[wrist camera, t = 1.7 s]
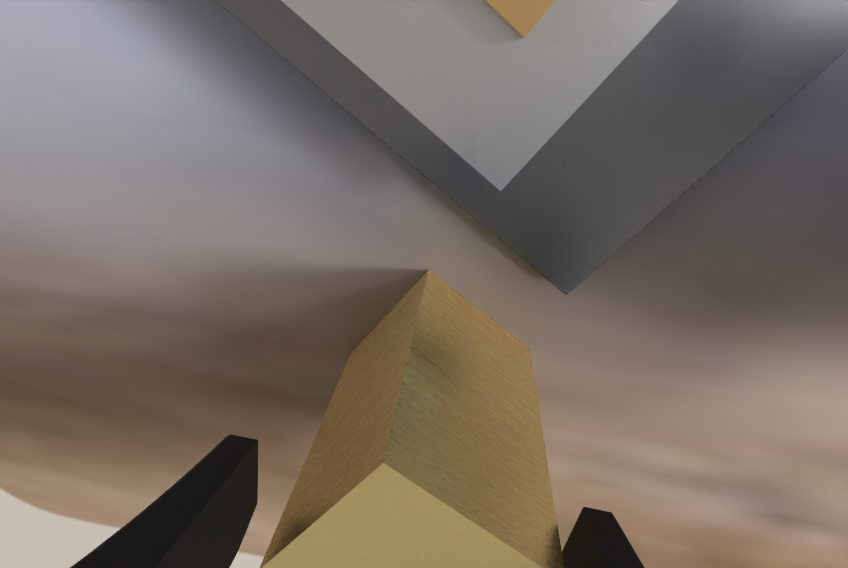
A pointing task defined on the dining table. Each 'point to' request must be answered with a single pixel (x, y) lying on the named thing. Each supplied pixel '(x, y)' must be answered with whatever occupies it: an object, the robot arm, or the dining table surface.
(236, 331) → the dining table surface
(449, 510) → the rectangular block
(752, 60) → the rosette base
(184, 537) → the robot arm
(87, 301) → the dining table surface
